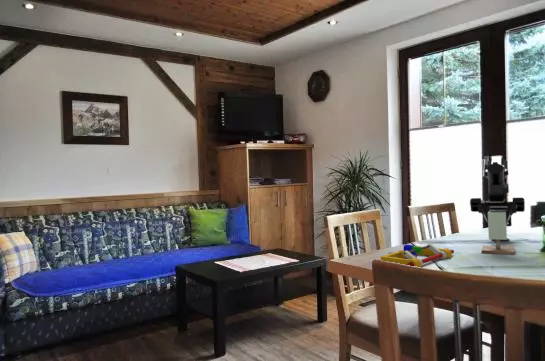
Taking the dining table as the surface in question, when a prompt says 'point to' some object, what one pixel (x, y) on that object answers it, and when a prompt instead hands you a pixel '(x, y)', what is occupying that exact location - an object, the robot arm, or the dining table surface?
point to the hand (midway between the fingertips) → (497, 221)
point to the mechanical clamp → (411, 252)
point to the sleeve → (497, 225)
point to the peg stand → (498, 249)
